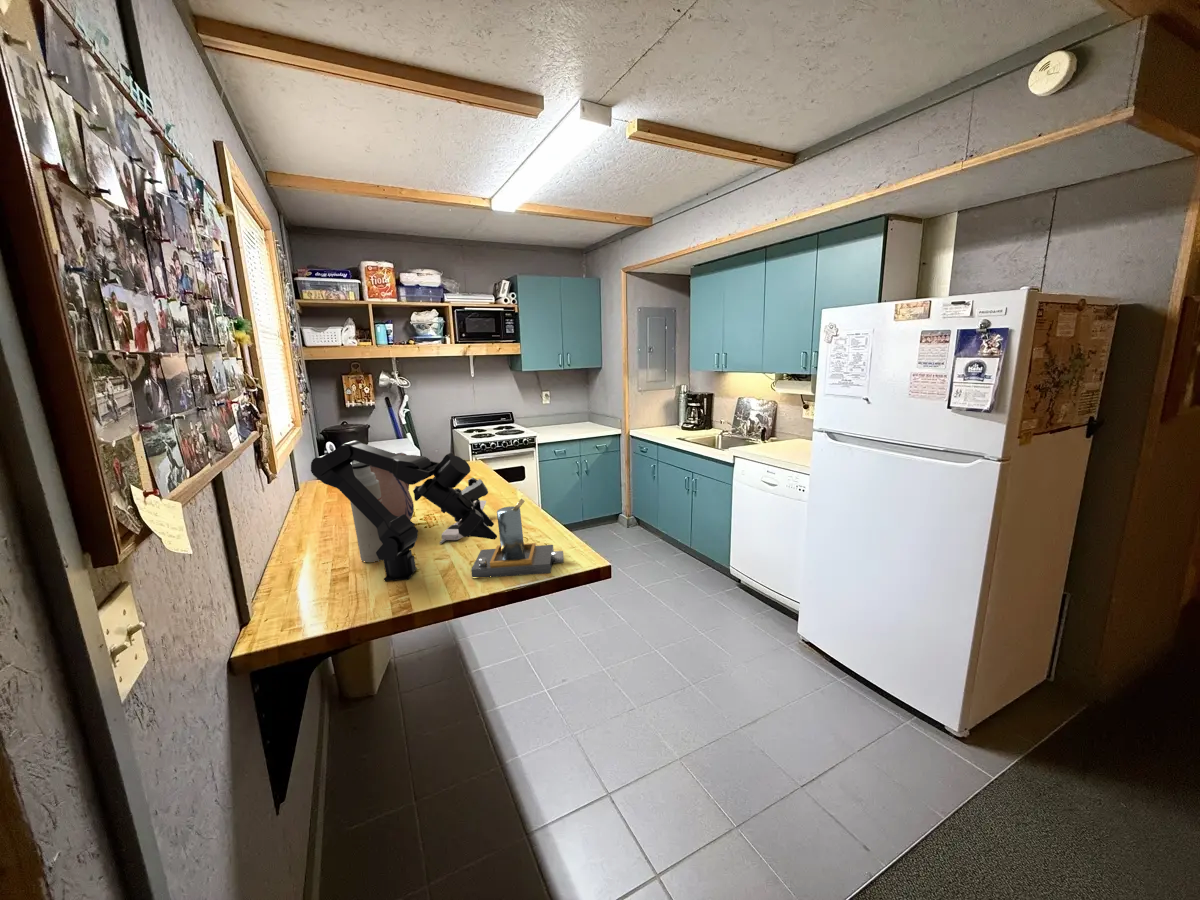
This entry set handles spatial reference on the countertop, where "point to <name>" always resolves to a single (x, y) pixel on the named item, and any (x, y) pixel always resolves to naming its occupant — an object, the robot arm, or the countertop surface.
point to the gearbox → (516, 562)
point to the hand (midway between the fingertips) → (494, 531)
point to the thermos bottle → (363, 526)
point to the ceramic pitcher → (394, 492)
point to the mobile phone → (455, 529)
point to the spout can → (511, 532)
